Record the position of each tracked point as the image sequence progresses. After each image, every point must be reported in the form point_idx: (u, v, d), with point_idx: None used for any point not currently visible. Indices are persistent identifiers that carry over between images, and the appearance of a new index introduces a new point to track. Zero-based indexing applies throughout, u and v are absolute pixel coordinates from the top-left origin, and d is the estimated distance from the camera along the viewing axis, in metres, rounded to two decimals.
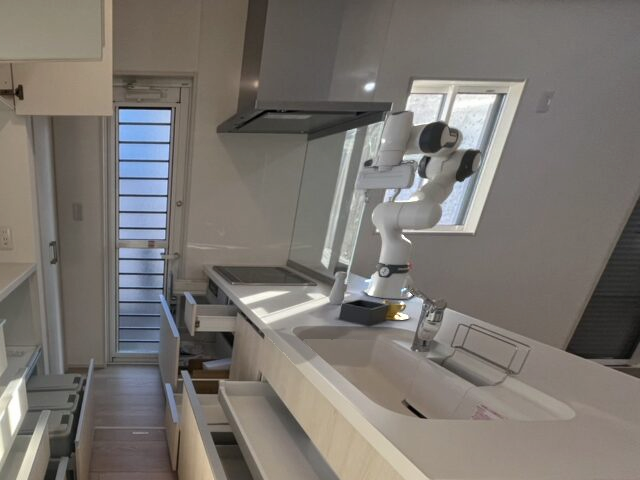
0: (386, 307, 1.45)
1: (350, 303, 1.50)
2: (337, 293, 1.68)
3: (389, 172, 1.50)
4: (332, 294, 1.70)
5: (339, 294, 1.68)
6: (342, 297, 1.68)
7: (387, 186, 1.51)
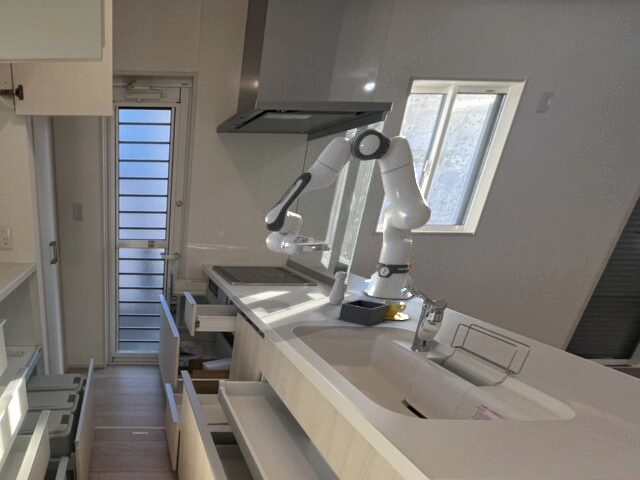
0: (386, 307, 1.45)
1: (350, 303, 1.50)
2: (337, 293, 1.68)
3: None
4: (332, 294, 1.70)
5: (339, 294, 1.68)
6: (342, 297, 1.68)
7: (306, 252, 1.77)
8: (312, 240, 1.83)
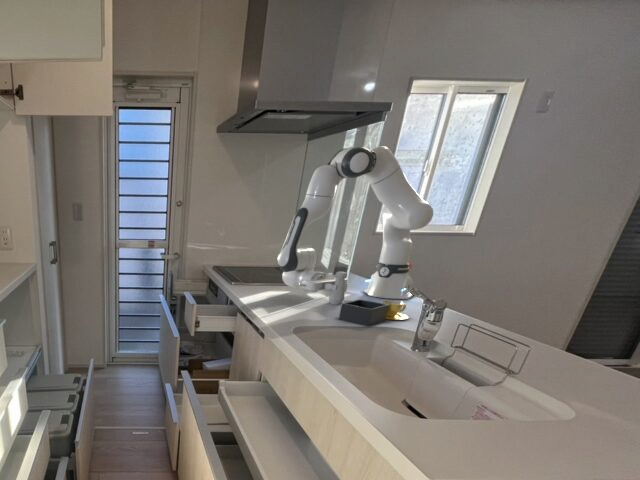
0: (386, 307, 1.45)
1: (350, 303, 1.50)
2: (337, 293, 1.68)
3: None
4: (332, 294, 1.70)
5: (339, 294, 1.68)
6: (342, 297, 1.68)
7: (324, 289, 1.72)
8: (330, 276, 1.78)
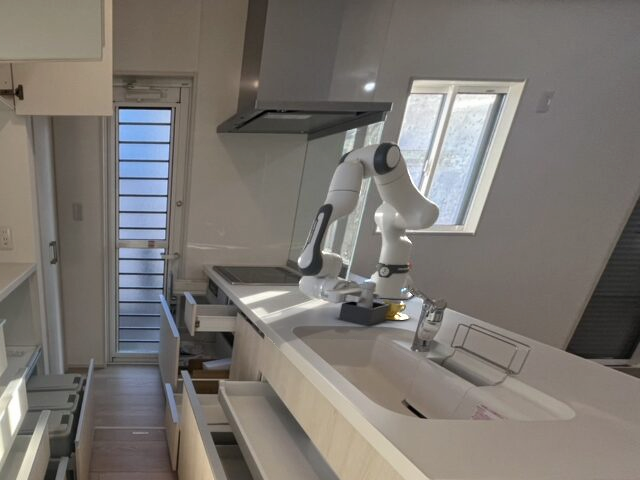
0: (386, 307, 1.45)
1: (350, 303, 1.50)
2: (365, 306, 1.45)
3: None
4: None
5: (366, 307, 1.45)
6: None
7: None
8: (355, 285, 1.55)
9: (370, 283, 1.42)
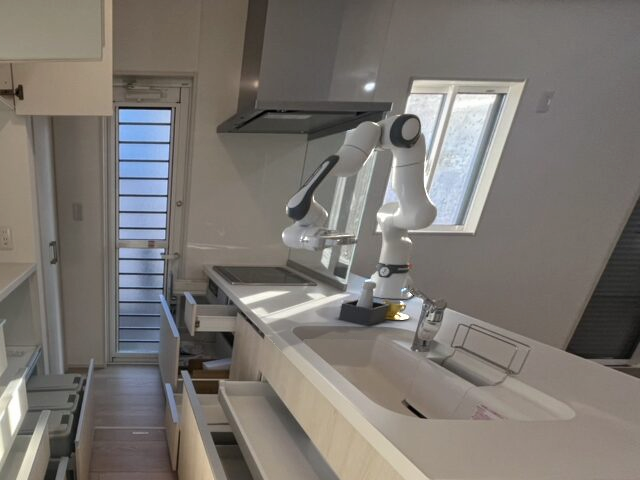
0: (386, 307, 1.45)
1: (350, 303, 1.50)
2: (365, 306, 1.45)
3: None
4: None
5: (366, 307, 1.45)
6: None
7: (329, 246, 1.52)
8: (336, 233, 1.58)
9: (370, 283, 1.42)
